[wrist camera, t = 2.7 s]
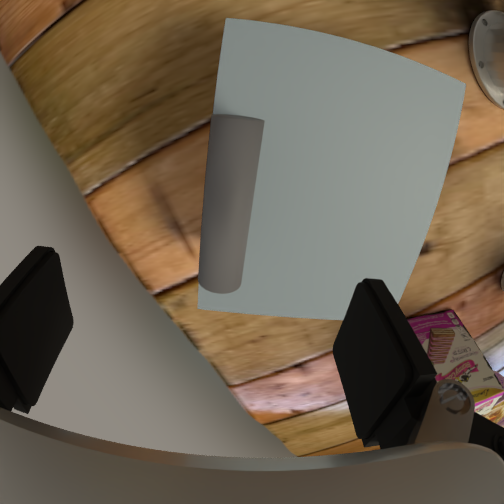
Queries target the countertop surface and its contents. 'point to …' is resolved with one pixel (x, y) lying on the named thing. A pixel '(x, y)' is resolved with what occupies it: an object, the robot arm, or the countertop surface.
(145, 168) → the countertop surface
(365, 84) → the lid flap
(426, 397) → the robot arm
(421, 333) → the candy bar box
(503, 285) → the travel mug
